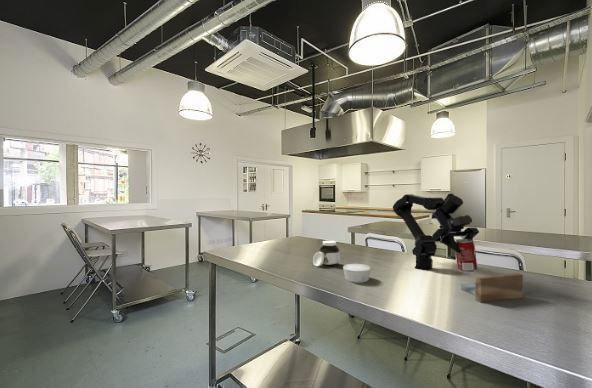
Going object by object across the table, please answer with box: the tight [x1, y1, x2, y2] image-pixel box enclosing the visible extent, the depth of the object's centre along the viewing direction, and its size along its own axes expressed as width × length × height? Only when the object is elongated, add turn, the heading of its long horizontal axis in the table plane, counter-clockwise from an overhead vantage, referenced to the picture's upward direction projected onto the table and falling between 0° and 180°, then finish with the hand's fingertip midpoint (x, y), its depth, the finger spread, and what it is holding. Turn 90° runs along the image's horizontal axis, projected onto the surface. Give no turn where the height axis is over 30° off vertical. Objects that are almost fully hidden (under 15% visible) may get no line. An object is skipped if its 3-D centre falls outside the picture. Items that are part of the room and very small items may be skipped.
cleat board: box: [460, 272, 524, 303], centre depth 99 cm, size 12×18×8 cm, turn 103°
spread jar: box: [312, 240, 341, 268], centre depth 136 cm, size 12×11×12 cm
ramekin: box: [342, 263, 371, 284], centre depth 114 cm, size 11×11×5 cm
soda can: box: [454, 238, 478, 273], centre depth 108 cm, size 7×7×12 cm
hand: (467, 252), depth 107 cm, fingers closed on soda can, 6 cm apart
